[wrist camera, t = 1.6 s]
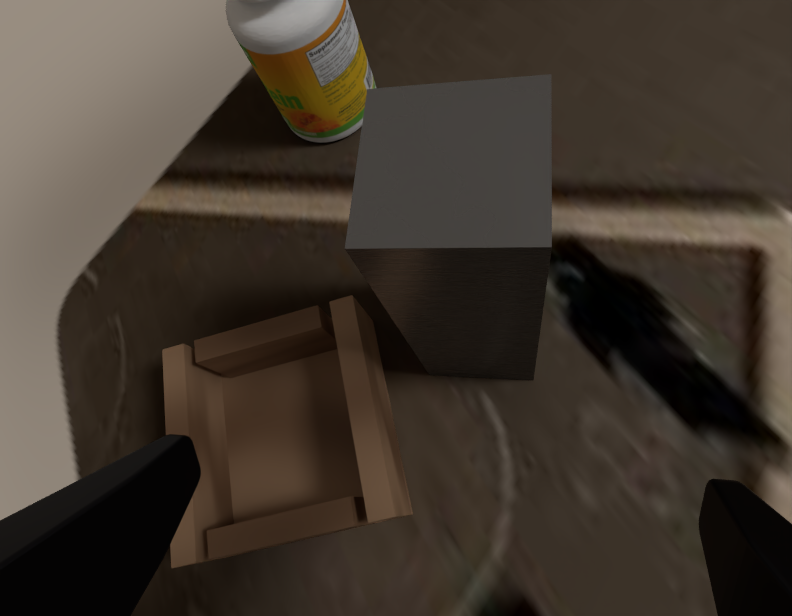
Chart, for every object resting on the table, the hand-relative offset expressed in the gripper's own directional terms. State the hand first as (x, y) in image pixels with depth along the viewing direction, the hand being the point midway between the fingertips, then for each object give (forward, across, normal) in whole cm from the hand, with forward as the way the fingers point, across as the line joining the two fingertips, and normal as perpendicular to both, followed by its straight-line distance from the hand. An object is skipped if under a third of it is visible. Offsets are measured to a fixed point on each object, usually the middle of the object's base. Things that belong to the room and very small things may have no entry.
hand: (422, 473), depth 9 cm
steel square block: (+14, 0, +4) cm, 15 cm away
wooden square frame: (+11, +8, +8) cm, 16 cm away
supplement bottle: (+23, +9, -5) cm, 25 cm away
